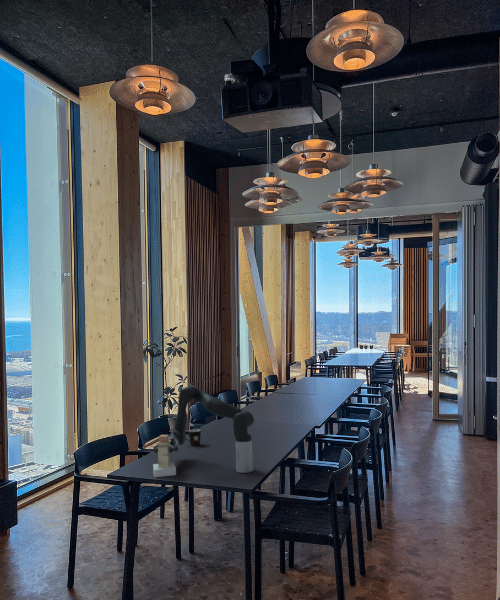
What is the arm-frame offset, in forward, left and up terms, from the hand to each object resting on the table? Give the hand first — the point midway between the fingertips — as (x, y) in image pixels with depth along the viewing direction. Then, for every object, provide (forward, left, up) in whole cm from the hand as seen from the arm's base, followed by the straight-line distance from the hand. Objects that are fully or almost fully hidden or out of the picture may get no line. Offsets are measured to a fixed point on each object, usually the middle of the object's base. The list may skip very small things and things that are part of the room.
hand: (162, 451), depth 281 cm
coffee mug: (-25, -62, -13) cm, 68 cm away
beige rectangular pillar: (-1, -2, -9) cm, 9 cm away
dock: (-1, -2, -13) cm, 13 cm away
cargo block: (-1, -2, +5) cm, 6 cm away
